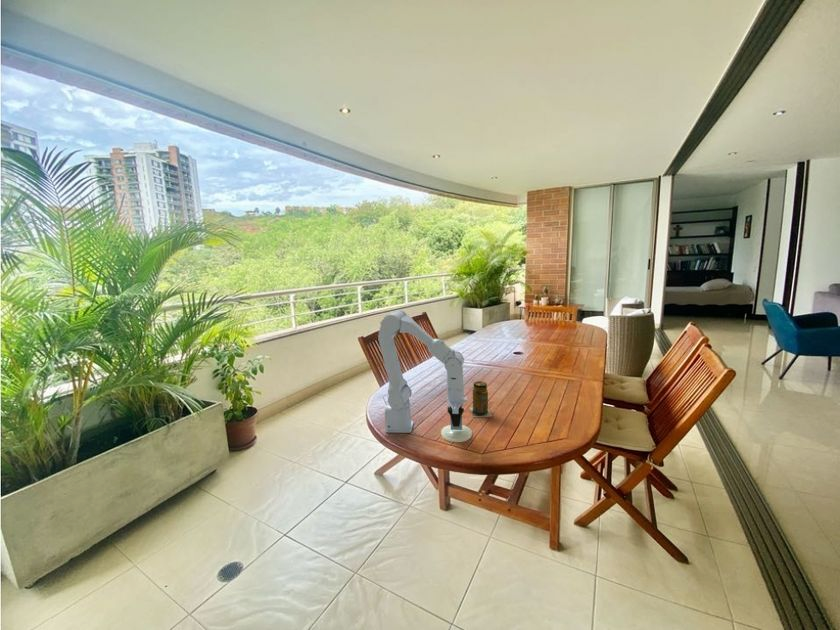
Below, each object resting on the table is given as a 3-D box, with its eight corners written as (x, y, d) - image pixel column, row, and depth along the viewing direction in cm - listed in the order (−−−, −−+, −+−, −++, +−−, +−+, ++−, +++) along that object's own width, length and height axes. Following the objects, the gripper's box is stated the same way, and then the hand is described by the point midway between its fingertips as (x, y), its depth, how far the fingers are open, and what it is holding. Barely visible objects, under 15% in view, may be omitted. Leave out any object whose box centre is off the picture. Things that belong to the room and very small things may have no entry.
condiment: (486, 406, 141) (486, 379, 139) (492, 416, 133) (492, 387, 130) (469, 408, 141) (468, 380, 138) (473, 418, 132) (473, 389, 130)
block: (450, 429, 119) (450, 414, 118) (451, 424, 123) (450, 408, 122) (462, 430, 119) (461, 414, 118) (462, 424, 123) (461, 408, 122)
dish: (440, 442, 117) (440, 439, 117) (442, 426, 128) (441, 423, 127) (472, 443, 116) (472, 440, 115) (471, 426, 126) (471, 424, 126)
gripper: (467, 396, 111) (468, 434, 113) (466, 379, 125) (467, 413, 127) (445, 396, 112) (446, 433, 114) (447, 379, 126) (448, 413, 128)
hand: (456, 423), depth 121 cm, fingers closed on block, 4 cm apart
